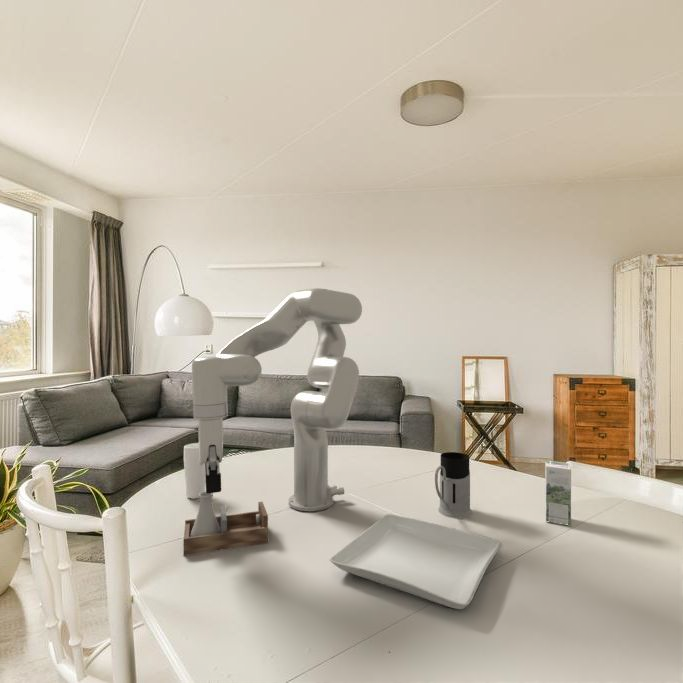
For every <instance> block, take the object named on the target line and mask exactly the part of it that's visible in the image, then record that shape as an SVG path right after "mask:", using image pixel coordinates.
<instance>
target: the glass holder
mask: <svg viewBox="0 0 683 683" xmlns="http://www.w3.org/2000/svg"><path fill="white" fill-rule="evenodd" d="M470 471H471V470H470V455H469V454H466V453H462V452H458V451H457V452H456V451H455V452H453V451H447V452H446V451H445V452H442V453H441V454H440V465H439V466H437V467H436V470H435V472H434V484H435V486H434V487H435V491H436V494H437V497H438V498H439V507H438V509H437V511H438V513H439V514H441V515H443V516H445V517H448V518H453V519H465V518H469V517H471V516H472V515H473V514H472V513H473V512H472V510H471V472H470ZM438 478H439V479H438ZM471 514H472V515H471Z"/></svg>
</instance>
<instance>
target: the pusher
mask: <svg viewBox="0 0 683 683" xmlns="http://www.w3.org/2000/svg"><path fill="white" fill-rule="evenodd" d="M226 515H227V511H226V506H224V505H223V506H220V516H221V533H224V532H227V517H226Z"/></svg>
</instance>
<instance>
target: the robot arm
mask: <svg viewBox="0 0 683 683" xmlns="http://www.w3.org/2000/svg"><path fill="white" fill-rule="evenodd" d="M362 312H363V306H362V303H361V301H360V299H359V298H358V297H357V296H356V295H354V294H353V293H348V292H343V291H339V290H333V289H326V288H321V287H320V288H318V287H317V288H316V287H315V288H309V289H307V288H306V289H301V290H300V289H299V290H295V291H293V292H292V293H290V294H289V295H288V296H286V298H285V299H283V300H282V302H280V303H279V305H277V307H275V308H274V310H273V311H271V312H270V313H269V314H268V315H267V316H266V317H265V318H264V319H263V320H262V321H260V322H259V323H257V324H255V325H253V326H252V327H250V328H249V329H247V330H246V331H244V332H242V333H241V334H239V335H237V336H235V338H233V339H232V340H230V342H228V343H227V344H226V345H225V346H224V347H222V349H221V350H220V351H219V352H218V353H217V354H216V355H215V356H202V357H196V358H194V359H193V361H192V363H191V373H192V374H191V375H192V377H191V378H192V404H193V405H192V407H193V409H192V410H193V411H192V412H193V420H196V421H198V428H197V432H198V434H197V435H198V436H197V437H198V443H199V463H200V464H201V465H203V463H205V471H206V486H205V492H206V493H207V494H209V493H213V494H215V493H220V492H221V491H222V474H221V472H220V471H221V470H220V468H221V467H220V463H222V462H223V455H224V454H223V452H224V424H223V423H224V421H223V420H224V419H225V418H227V417H228V416H229V411H228V410H229V408H228V405H229V404H228V387H233V386H234V387H248V386H251V385H253V384H255V383H257V381H259V379H260V378H261V375H262V364H261V363H260V361H259V360H258V359H257V358H256V357H257V356H259V355H262V354H264V353H267V352H269V351H273V350H276V349H279V348H280V347H281V348H282V347H283V346H284V345H286V344H288V342H289V341H290V340H292V338H293V337H294V336H295V335H296V334H297V333H298V331H299V330H300V329H302V327H303V326H304V325H305V324H306V323H308V322H309V321H313V323H314V325H315V328H316V331H317V337H318V338H317V342H316V346H315V348H314V352H313V355H312V359H311V361H310V363H309V366H308V370H307V375H306V379H307V381H308V383H309V385H310V386H311V387H314V388H316V389H317V388H318V389H323V390H327V392H323V391H315V390H305V391H301V392H299V393H297V394H296V395H295V396H294V397H293V399H292V400H291V402H290V403H291V404H290V418H291V422H292V427H293V494H292V495H291V496H290V497H289V498H288V506H289V507H290V508H291V509H293V510H297V511H302V512H317V511H323V510H326V509H328V508H330V507H331V506H332V505H334V498H333V497H334V496H341V495H345V488H344V487H338V486H337V485H336V486H335V485H333V486H330V485H329V482H328V481H329V477H328V476H329V464H328V461H329V459H328V458H329V453H328V452H329V443H328V442H329V439H328V435H327V430H337V429H340V428H341V427H343V426H344V425H345V423H346V422H347V420H348V417H349V416H350V415H349V414H350V412H351V409H352V405H353V402H354V398H355V396H356V393H357V388H358V385H359V380H360V370H359V367H358V365H357V363H356V361H355V360H353V358H350V357H347V356H344V355H345V350H346V347H347V339H346V337H345V334H344V331H343V329H342V326H341V325H351V324H354V323H356V322H358V320H359V319H360V318H361V317H362ZM326 429H327V430H326Z"/></svg>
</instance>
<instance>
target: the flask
mask: <svg viewBox="0 0 683 683" xmlns="http://www.w3.org/2000/svg"><path fill="white" fill-rule="evenodd" d="M213 497H214V493H209V494H207V493H206V491H205V492H202V493H200V494H199V498H198V499H199V507H198V512H197V514H196V517H195V519H196V520H195V523H194V526H193V528H192V531H191V534H190V537H194V536H201V535H209V534H216V533H221V530H220V527H219V524H218V522H217V519H216V516H217V515H216V513H215V511H214V507H213V500H212V498H213Z"/></svg>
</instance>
